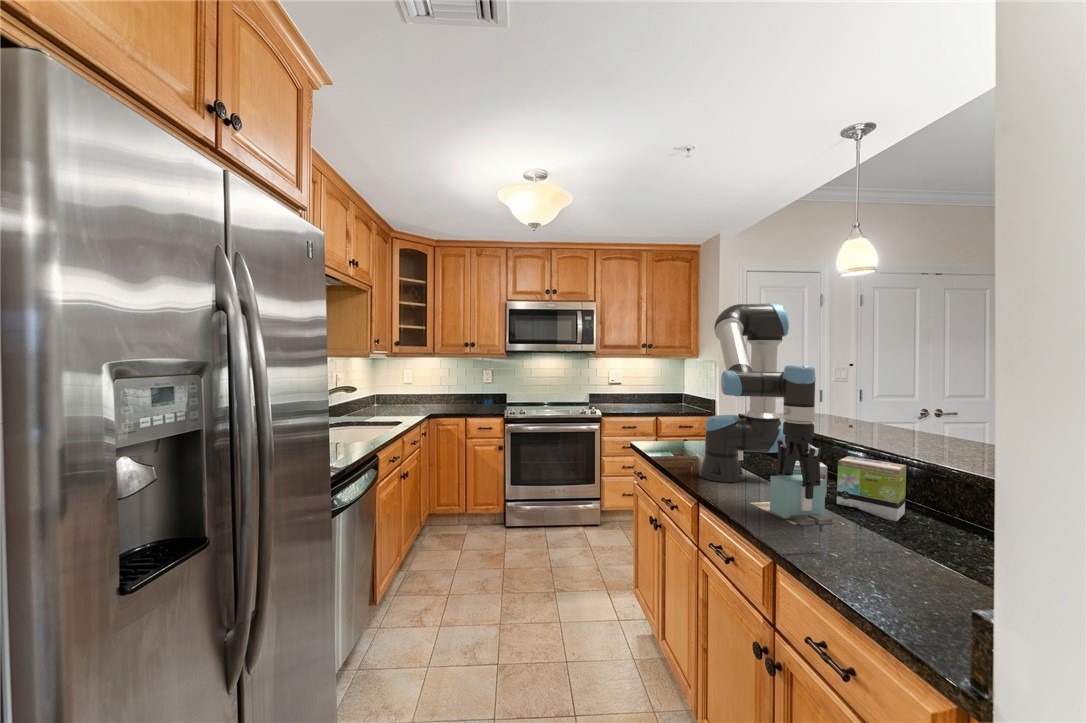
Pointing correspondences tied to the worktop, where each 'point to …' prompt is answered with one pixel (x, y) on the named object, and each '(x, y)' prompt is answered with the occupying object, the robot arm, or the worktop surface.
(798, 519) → the chip
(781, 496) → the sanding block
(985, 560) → the worktop surface
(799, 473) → the light bulb box
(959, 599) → the worktop surface
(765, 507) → the birch board
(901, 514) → the tea box
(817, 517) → the chip
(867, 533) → the worktop surface
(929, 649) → the worktop surface
